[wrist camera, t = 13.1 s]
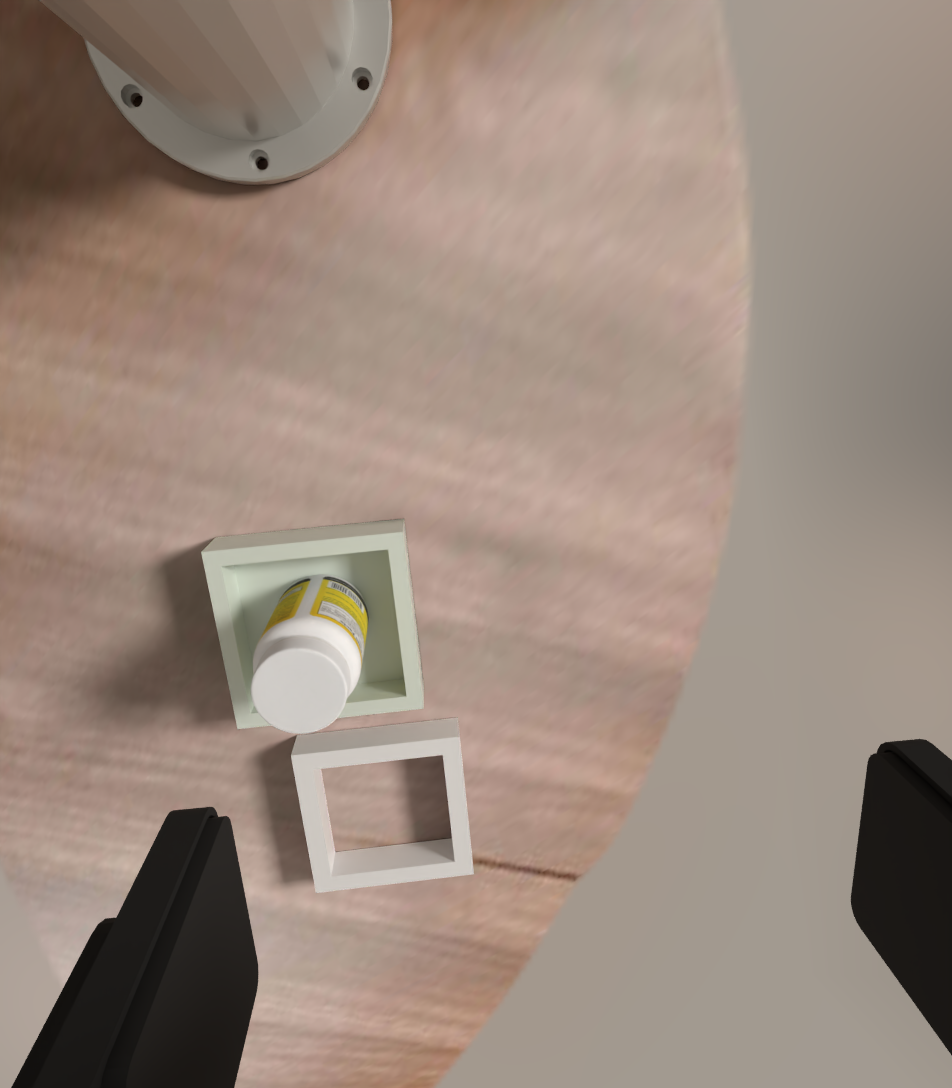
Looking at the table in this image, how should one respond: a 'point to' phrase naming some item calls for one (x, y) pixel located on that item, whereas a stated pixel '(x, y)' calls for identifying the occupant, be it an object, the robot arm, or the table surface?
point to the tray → (341, 550)
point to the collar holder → (395, 859)
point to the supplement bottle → (310, 654)
